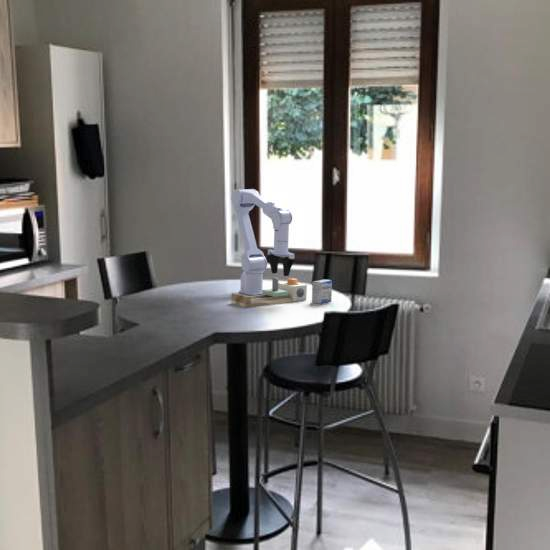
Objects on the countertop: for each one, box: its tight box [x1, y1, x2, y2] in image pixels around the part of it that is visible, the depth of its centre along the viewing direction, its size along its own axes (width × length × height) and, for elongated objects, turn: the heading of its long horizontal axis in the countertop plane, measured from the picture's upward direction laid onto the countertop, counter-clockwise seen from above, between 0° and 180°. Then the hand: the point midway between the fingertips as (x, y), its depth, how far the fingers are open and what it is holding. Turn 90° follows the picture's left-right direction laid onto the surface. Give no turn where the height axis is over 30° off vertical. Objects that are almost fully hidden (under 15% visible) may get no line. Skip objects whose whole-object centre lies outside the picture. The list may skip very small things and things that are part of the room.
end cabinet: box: [278, 281, 308, 302], centre depth 304 cm, size 10×7×6 cm
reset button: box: [286, 277, 298, 285], centre depth 304 cm, size 4×4×6 cm
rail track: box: [231, 292, 294, 308], centre depth 295 cm, size 10×23×4 cm, turn 129°
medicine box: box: [311, 279, 333, 305], centre depth 298 cm, size 8×4×9 cm, turn 143°
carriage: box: [261, 277, 288, 297], centre depth 298 cm, size 8×7×7 cm
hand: (280, 274), depth 299 cm, fingers open, 7 cm apart
